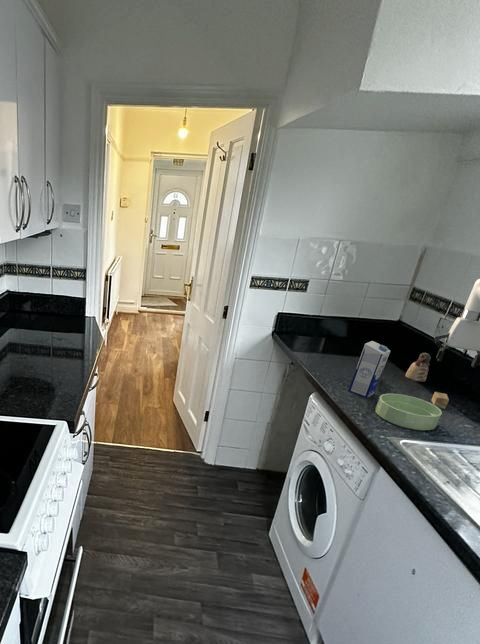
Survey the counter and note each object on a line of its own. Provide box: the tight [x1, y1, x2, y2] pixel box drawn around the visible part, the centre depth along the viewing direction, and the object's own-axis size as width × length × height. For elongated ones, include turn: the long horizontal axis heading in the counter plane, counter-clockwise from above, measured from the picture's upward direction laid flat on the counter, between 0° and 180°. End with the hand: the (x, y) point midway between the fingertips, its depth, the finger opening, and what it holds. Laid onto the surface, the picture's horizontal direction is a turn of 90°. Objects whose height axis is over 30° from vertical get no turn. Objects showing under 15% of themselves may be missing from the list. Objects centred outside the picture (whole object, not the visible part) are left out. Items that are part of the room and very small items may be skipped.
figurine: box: [405, 352, 432, 383], centre depth 173 cm, size 7×7×12 cm
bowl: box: [374, 393, 443, 431], centre depth 139 cm, size 17×17×6 cm
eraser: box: [431, 391, 450, 410], centre depth 152 cm, size 4×6×4 cm, turn 149°
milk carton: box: [347, 340, 391, 399], centre depth 154 cm, size 7×7×20 cm
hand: (455, 363), depth 146 cm, fingers open, 9 cm apart
